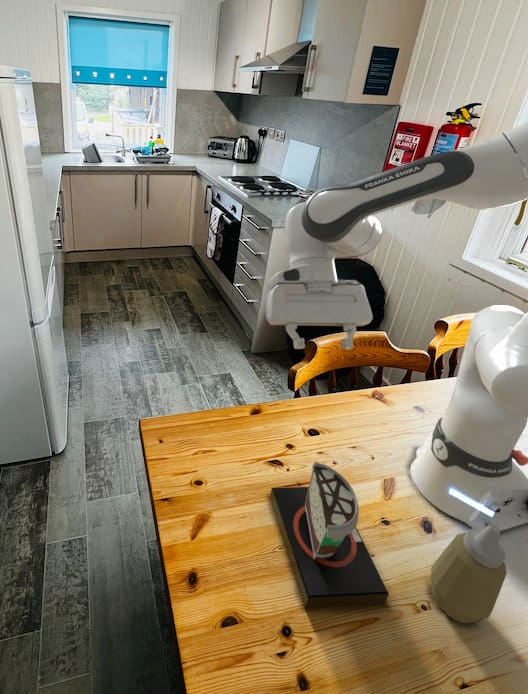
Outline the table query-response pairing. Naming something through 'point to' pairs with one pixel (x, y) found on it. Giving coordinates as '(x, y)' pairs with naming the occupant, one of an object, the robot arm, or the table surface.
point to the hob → (329, 574)
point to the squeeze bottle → (470, 574)
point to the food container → (329, 510)
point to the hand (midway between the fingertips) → (323, 348)
